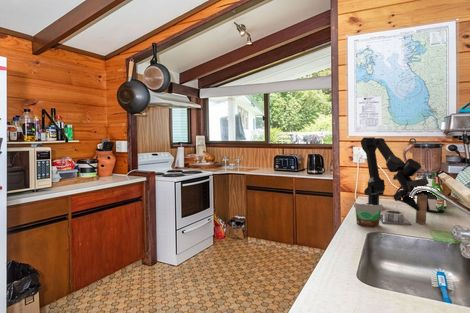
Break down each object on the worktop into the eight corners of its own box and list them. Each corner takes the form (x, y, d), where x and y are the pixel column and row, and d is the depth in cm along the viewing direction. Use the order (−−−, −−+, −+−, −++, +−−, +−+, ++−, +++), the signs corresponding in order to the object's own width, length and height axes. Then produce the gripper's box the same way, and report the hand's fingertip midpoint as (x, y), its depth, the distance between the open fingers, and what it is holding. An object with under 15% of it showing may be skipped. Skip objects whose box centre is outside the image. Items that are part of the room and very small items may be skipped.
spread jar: (426, 212, 158) (427, 190, 157) (413, 207, 170) (414, 186, 169) (449, 212, 159) (450, 190, 158) (434, 206, 170) (435, 186, 169)
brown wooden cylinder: (414, 221, 144) (415, 194, 143) (423, 222, 143) (425, 194, 142) (417, 224, 140) (418, 196, 139) (427, 224, 139) (428, 196, 138)
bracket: (377, 216, 153) (377, 208, 153) (403, 217, 150) (404, 209, 150) (382, 223, 142) (382, 215, 142) (411, 225, 139) (411, 216, 138)
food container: (353, 226, 138) (354, 204, 137) (353, 222, 144) (353, 201, 143) (383, 229, 134) (384, 206, 133) (382, 225, 140) (382, 203, 139)
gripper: (398, 173, 141) (416, 202, 131) (432, 171, 145) (452, 199, 135) (386, 186, 150) (402, 214, 140) (418, 184, 154) (436, 211, 144)
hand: (423, 209), depth 140 cm, fingers open, 5 cm apart
